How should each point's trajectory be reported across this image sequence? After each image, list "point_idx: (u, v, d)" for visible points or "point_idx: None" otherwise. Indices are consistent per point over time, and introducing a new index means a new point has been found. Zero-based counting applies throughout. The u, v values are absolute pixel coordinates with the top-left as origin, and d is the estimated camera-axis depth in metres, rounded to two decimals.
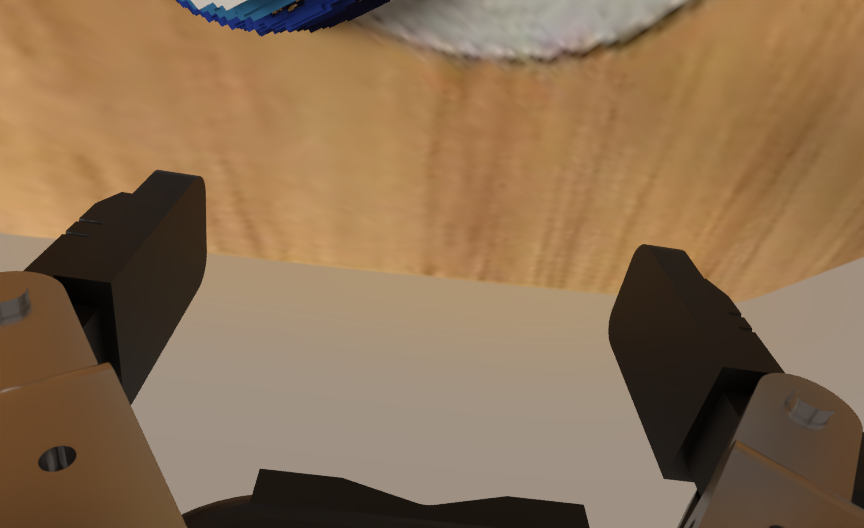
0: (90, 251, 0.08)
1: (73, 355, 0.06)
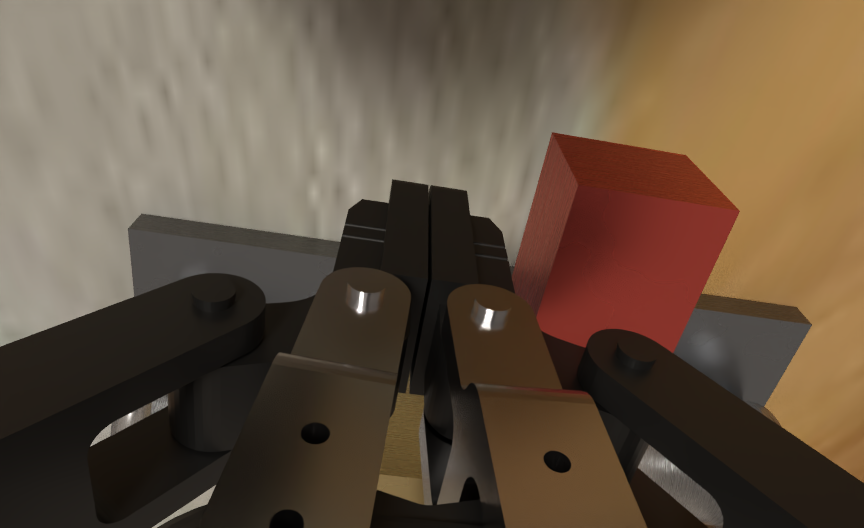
0: (393, 252, 0.09)
1: (384, 356, 0.07)
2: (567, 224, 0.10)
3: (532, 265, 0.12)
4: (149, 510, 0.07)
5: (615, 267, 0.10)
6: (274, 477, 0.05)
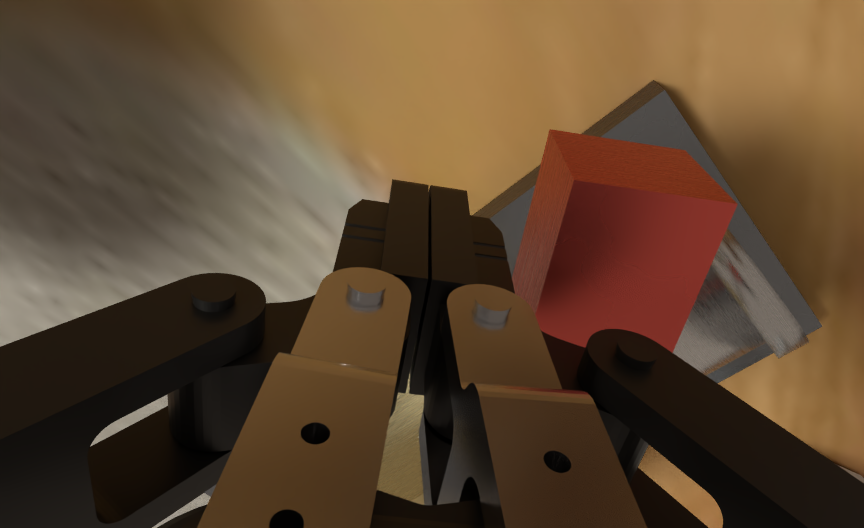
0: (393, 252, 0.09)
1: (385, 356, 0.07)
2: (564, 220, 0.10)
3: (531, 262, 0.12)
4: (150, 510, 0.07)
5: (613, 262, 0.10)
6: (275, 477, 0.05)
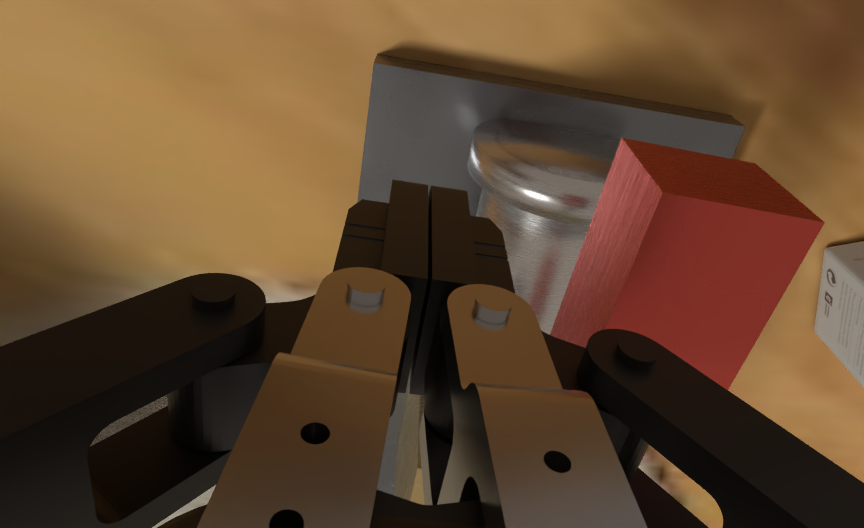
0: (393, 252, 0.09)
1: (384, 356, 0.07)
2: (647, 232, 0.10)
3: (598, 272, 0.11)
4: (149, 510, 0.07)
5: (692, 277, 0.10)
6: (274, 477, 0.05)
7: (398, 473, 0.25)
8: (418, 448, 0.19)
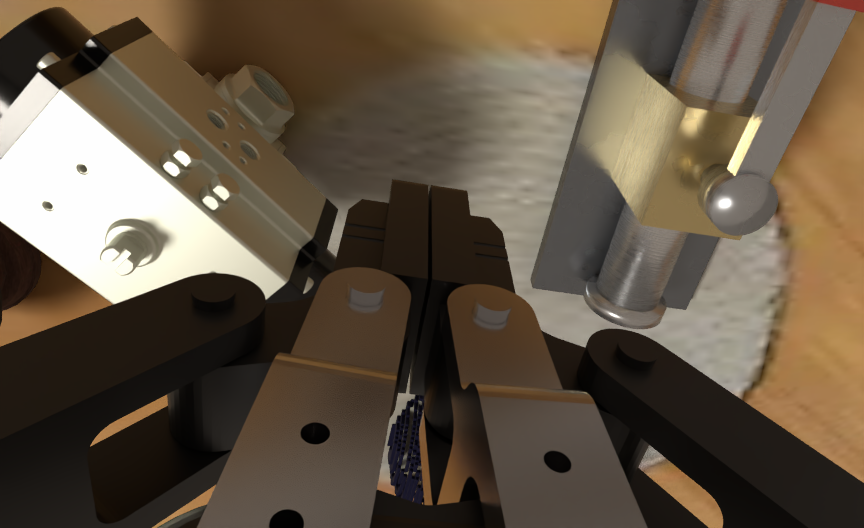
0: (393, 252, 0.09)
1: (385, 356, 0.07)
2: None
3: None
4: (151, 509, 0.07)
5: None
6: (274, 477, 0.05)
7: (627, 172, 0.39)
8: (681, 103, 0.33)
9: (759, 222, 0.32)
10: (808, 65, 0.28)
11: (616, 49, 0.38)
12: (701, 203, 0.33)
